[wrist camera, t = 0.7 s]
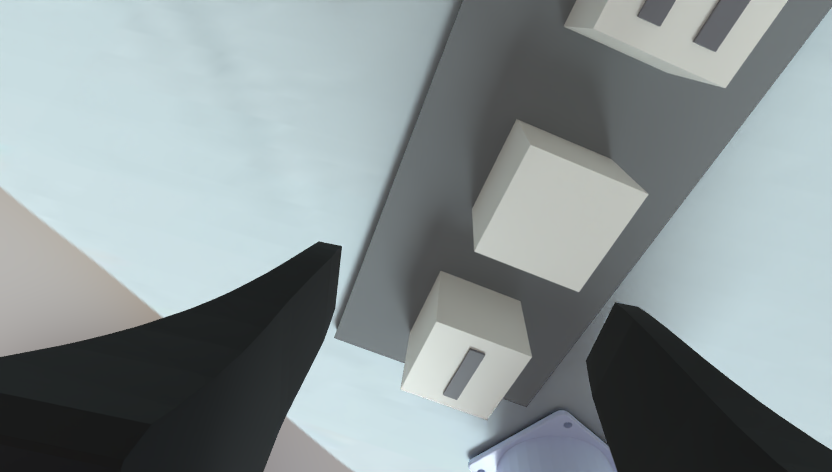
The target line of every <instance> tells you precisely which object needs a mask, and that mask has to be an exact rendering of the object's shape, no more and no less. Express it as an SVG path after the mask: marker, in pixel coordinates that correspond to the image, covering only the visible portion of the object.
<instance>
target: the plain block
mask: <svg viewBox="0 0 832 472" xmlns="http://www.w3.org/2000/svg"><path fill="white" fill-rule="evenodd" d="M648 195H649V194H648V193H647V192H646V191H645V190H644V189H643V188H642V187H641V186H640V185H638V184H637V183H636V182H635V181H634V180H633V179H632V178H631V177H630V176H629V175H628V174H627V173H626V172H625V171H624V170H622V169H621V168H620V167H619V166H618V165H617V164H616V163H615V162H614V161H613V160H612V159H610V158H608V157H605V156H603V155H600V154H598V153H596V152H593V151H591V150H589V149H586V148H584V147H581V146H579V145H577V144H574V143H572V142H570V141H567V140H565V139H563V138H560V137H558V136H555V135H553V134H551V133H548V132H546V131H544V130H541V129H539V128H537V127H534V126H532V125H529V124H527V123H525V122H522V121H520V120H518V119H516V121H515V123H514V125H513V127H512V129H511V131H510V133H509V135H508V137H507V139H506V141H505V143H504V145H503V147H502V149H501V151H500V153H499V155H498V157H497V160H496V162H495V164H494V166H493V168H492V170H491V172H490V174H489V176H488V178H487V180H486V182H485V184H484V186H483V188H482V190H481V192H480V194H479V196H478V198H477V200H476V202H475V204H474V206H473V208H472V220H473V238H474V252H477V253H479V254H482V255H485V256H487V257H490V258H492V259H495V260H497V261H500V262H503V263H505V264H508V265H510V266H513V267H515V268H518V269H520V270H523V271H526V272H528V273H531V274H533V275H536V276H538V277H541V278H544V279H546V280H549V281H551V282H554V283H556V284H559V285H562V286H564V287H567V288H569V289H572V290H574V291H577V292H579V291H580V290H581V289H582V287H583V286H584V284H585V283H586V282H587V280H588V279H589V277H590V276H591V275H592V273H593V272H594V270H595V269H596V268H597V266H598V265H599V263H600V262H601V261H602V259H603V258H604V256H605V255H606V254H607V252H608V251H609V249H610V248H611V247H612V245H613V244H614V242H615V241H616V239H617V238H618V237H619V235H620V234H621V232H622V231H623V230H624V228H625V227H626V225H627V224H628V223H629V221H630V220H631V218H632V217H633V216H634V214H635V213H636V211H637V210H638V209H639V207H640V206H641V204H642V203H643V202H644V200H645V199H646V197H647V196H648Z"/></svg>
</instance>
